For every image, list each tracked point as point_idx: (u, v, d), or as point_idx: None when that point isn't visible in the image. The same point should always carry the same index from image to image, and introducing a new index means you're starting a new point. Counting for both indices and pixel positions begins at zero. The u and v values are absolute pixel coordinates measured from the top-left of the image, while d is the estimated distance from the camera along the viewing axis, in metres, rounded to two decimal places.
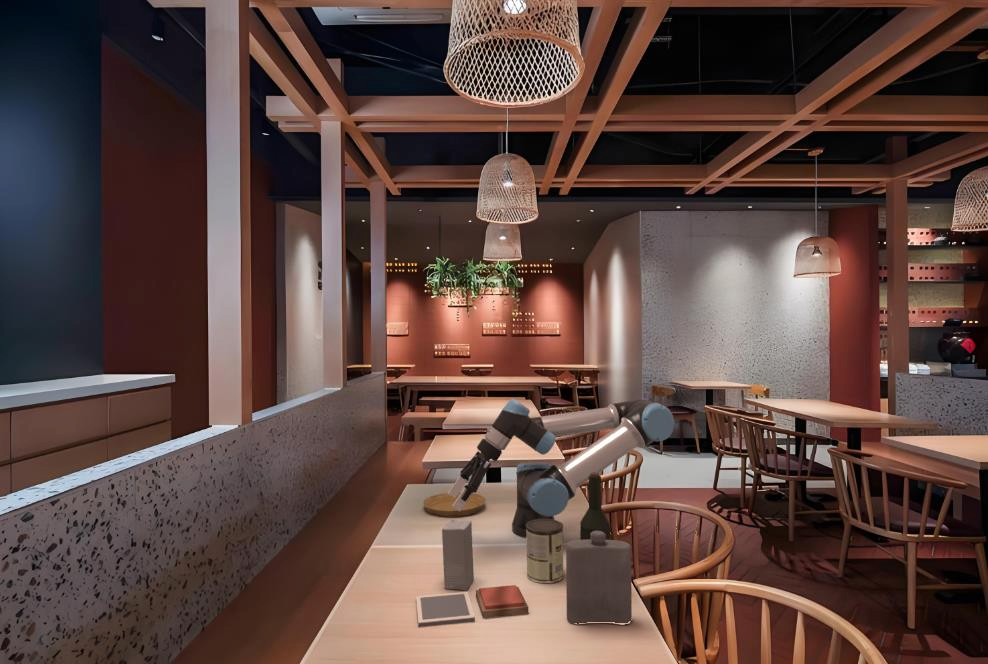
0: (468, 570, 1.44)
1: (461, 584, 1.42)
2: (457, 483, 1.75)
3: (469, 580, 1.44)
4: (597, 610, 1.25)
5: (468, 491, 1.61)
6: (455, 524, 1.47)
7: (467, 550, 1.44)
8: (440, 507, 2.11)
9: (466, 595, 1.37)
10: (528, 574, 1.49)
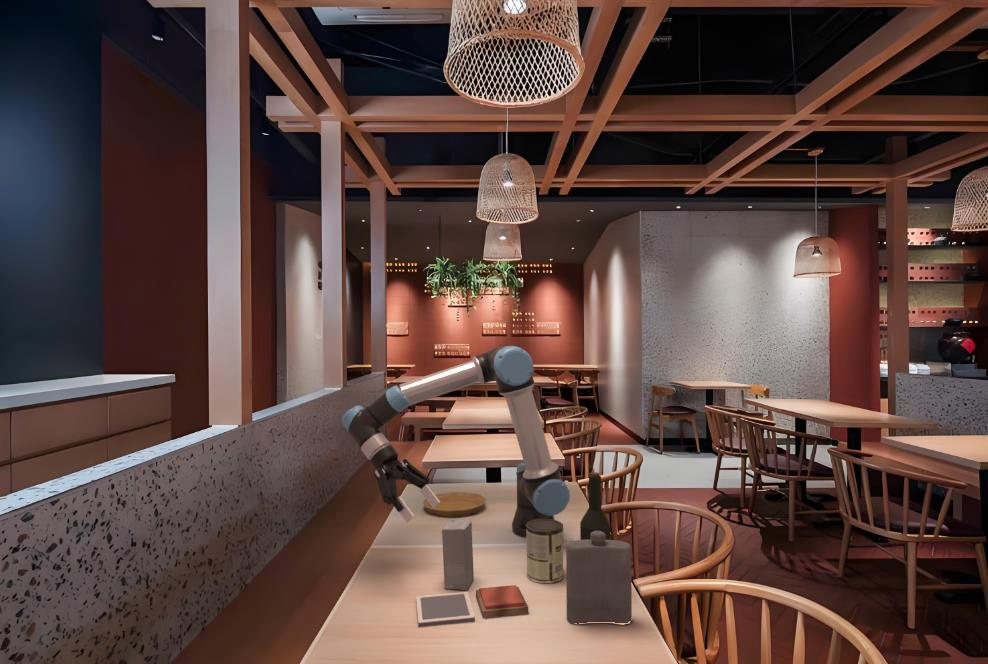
0: (468, 570, 1.44)
1: (461, 584, 1.42)
2: (425, 495, 1.59)
3: (469, 580, 1.44)
4: (597, 610, 1.25)
5: (392, 502, 1.46)
6: (455, 524, 1.47)
7: (467, 550, 1.44)
8: (440, 507, 2.11)
9: (466, 595, 1.37)
10: (528, 574, 1.49)
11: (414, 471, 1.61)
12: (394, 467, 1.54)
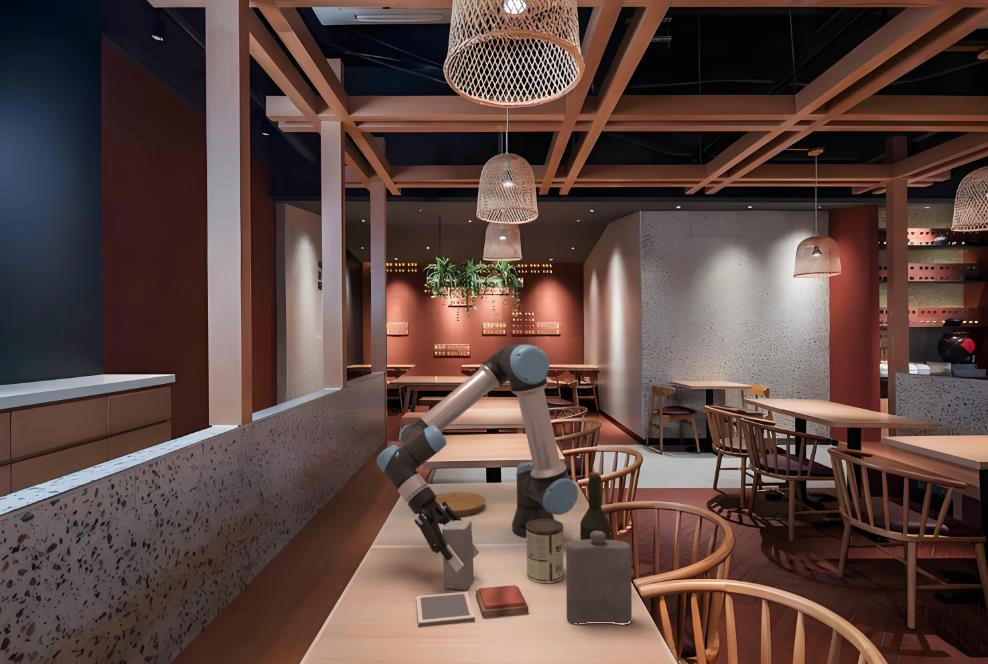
0: (468, 570, 1.44)
1: (461, 584, 1.42)
2: None
3: (469, 580, 1.44)
4: (597, 610, 1.25)
5: (441, 551, 1.42)
6: (455, 524, 1.47)
7: (467, 550, 1.44)
8: None
9: (466, 595, 1.37)
10: (528, 574, 1.49)
11: (452, 515, 1.54)
12: (433, 510, 1.48)
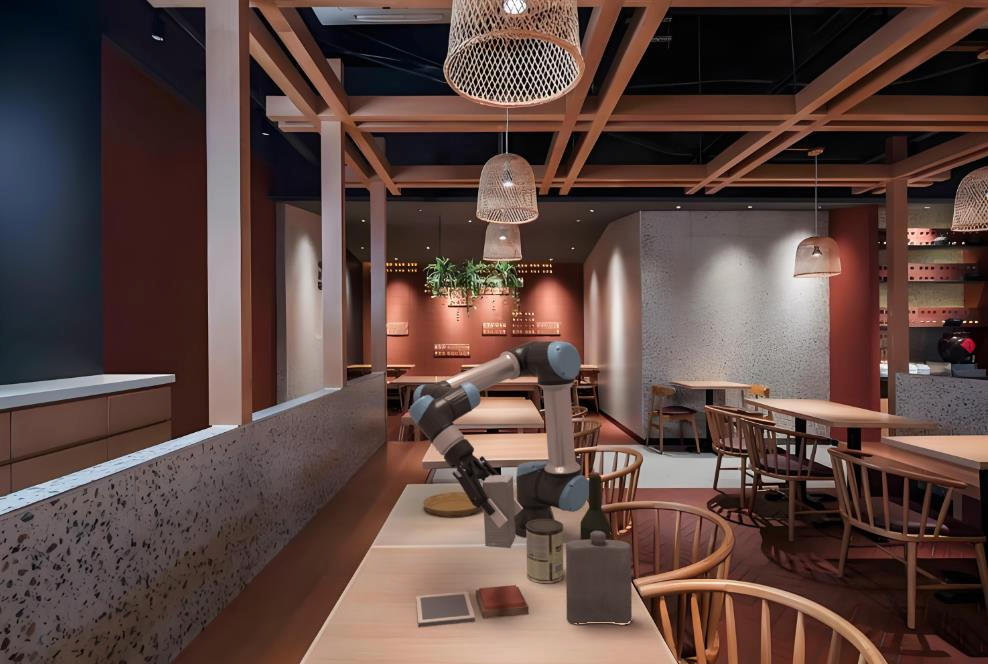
0: (511, 527, 1.32)
1: (504, 541, 1.30)
2: None
3: (512, 538, 1.33)
4: (597, 610, 1.25)
5: (482, 505, 1.30)
6: (496, 478, 1.35)
7: (510, 505, 1.32)
8: (440, 507, 2.11)
9: (466, 595, 1.37)
10: (528, 574, 1.49)
11: (491, 471, 1.42)
12: (472, 463, 1.36)
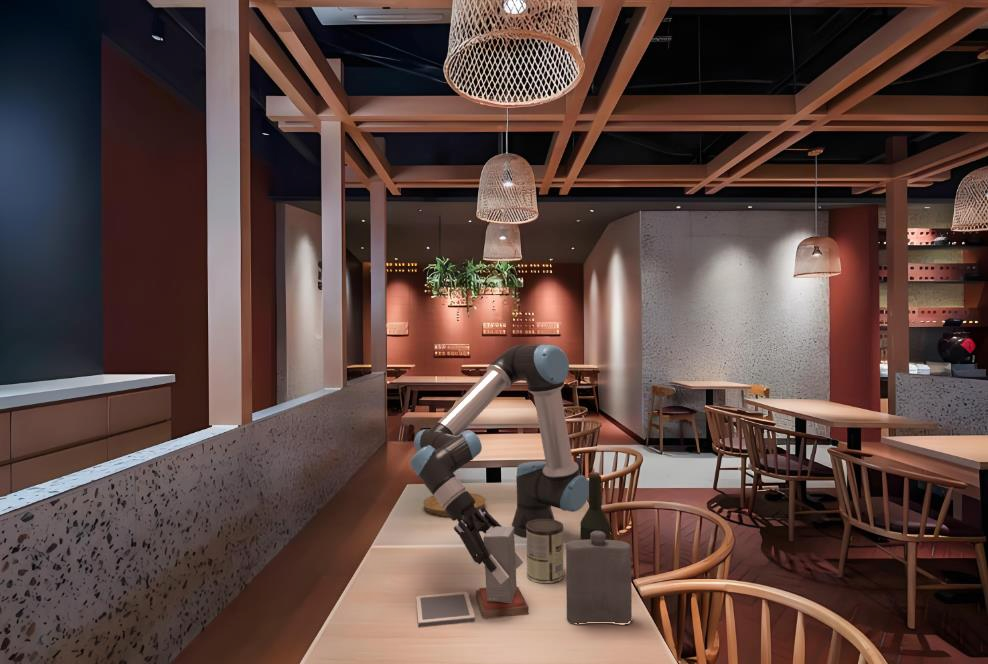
0: (512, 581, 1.32)
1: (505, 596, 1.30)
2: None
3: (513, 592, 1.32)
4: (597, 610, 1.25)
5: (484, 561, 1.29)
6: (497, 531, 1.35)
7: (511, 559, 1.32)
8: (440, 507, 2.11)
9: (466, 595, 1.37)
10: (528, 574, 1.49)
11: (492, 522, 1.42)
12: (473, 517, 1.36)
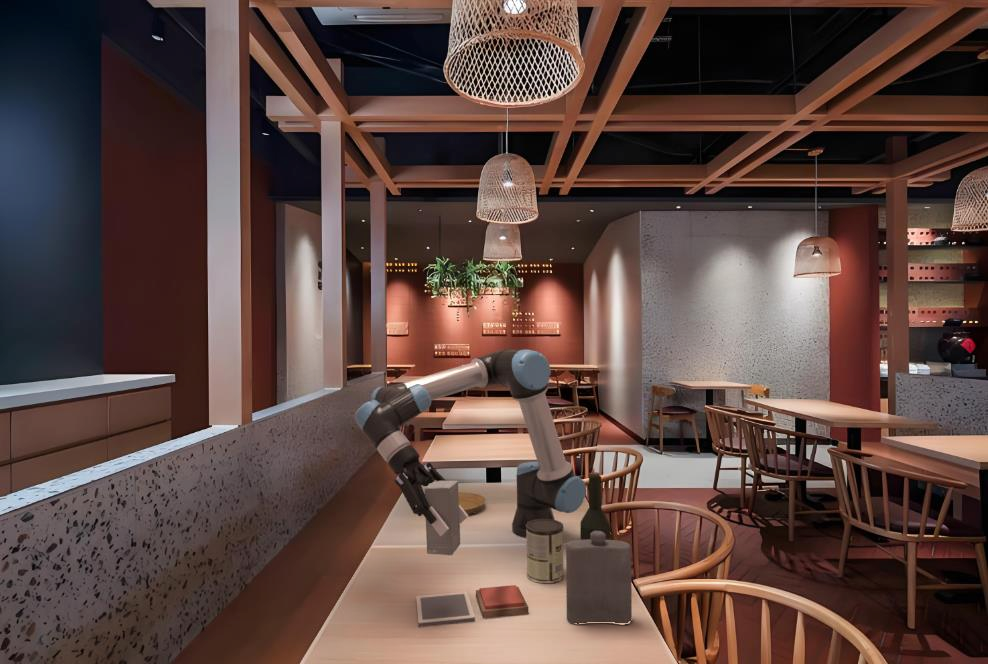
0: (453, 534, 1.30)
1: (445, 548, 1.28)
2: None
3: (455, 545, 1.30)
4: (597, 610, 1.25)
5: (423, 513, 1.27)
6: (439, 483, 1.33)
7: (452, 511, 1.30)
8: None
9: (466, 595, 1.37)
10: (528, 574, 1.49)
11: (438, 477, 1.40)
12: (416, 470, 1.34)
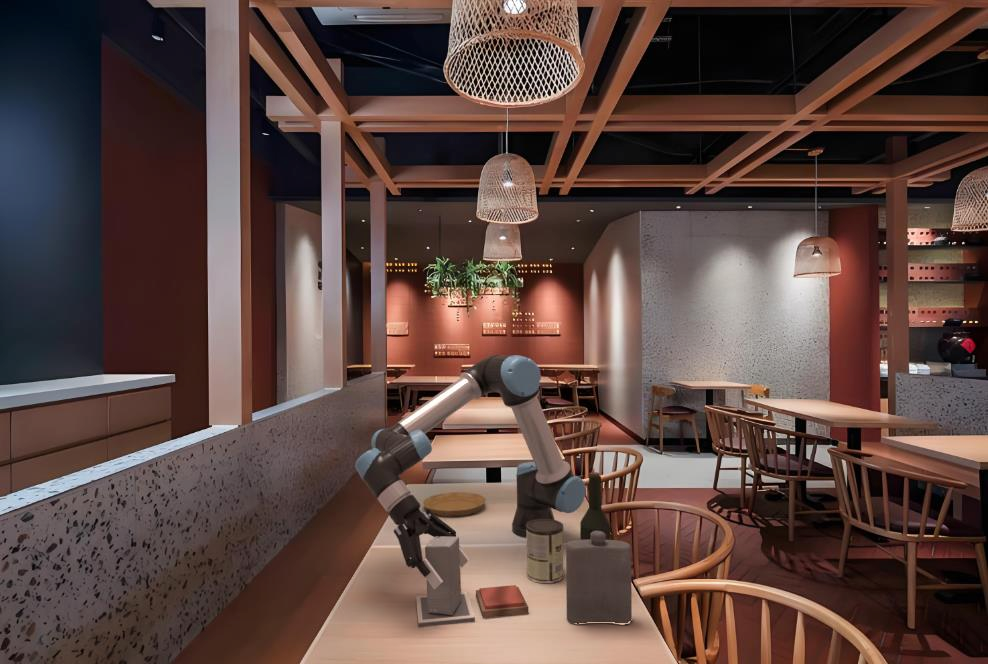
0: (454, 592, 1.30)
1: (446, 608, 1.28)
2: None
3: (455, 603, 1.30)
4: (597, 610, 1.25)
5: (417, 565, 1.26)
6: (440, 540, 1.33)
7: (453, 570, 1.30)
8: (440, 507, 2.11)
9: (466, 595, 1.37)
10: (528, 574, 1.49)
11: (438, 523, 1.41)
12: (417, 521, 1.34)
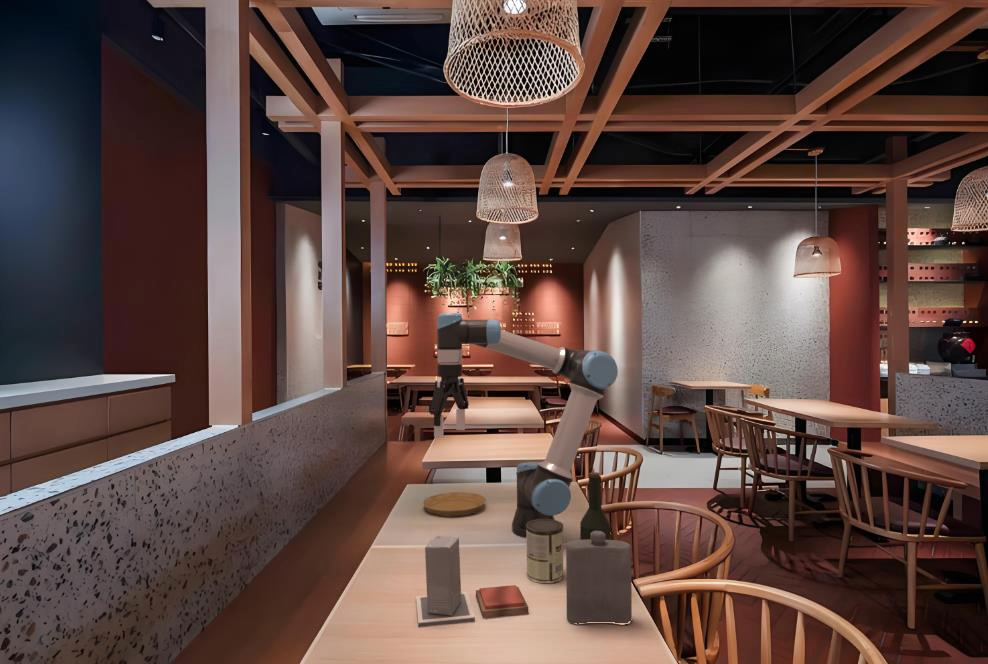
0: (454, 593, 1.29)
1: (446, 608, 1.28)
2: (457, 416, 1.73)
3: (455, 604, 1.30)
4: (597, 610, 1.25)
5: (435, 416, 1.59)
6: (440, 541, 1.33)
7: (453, 570, 1.30)
8: (440, 507, 2.11)
9: (466, 595, 1.37)
10: (528, 574, 1.49)
11: (462, 392, 1.73)
12: (453, 385, 1.65)
